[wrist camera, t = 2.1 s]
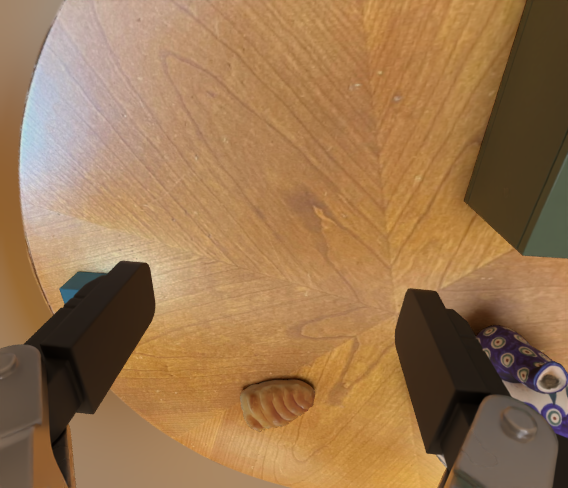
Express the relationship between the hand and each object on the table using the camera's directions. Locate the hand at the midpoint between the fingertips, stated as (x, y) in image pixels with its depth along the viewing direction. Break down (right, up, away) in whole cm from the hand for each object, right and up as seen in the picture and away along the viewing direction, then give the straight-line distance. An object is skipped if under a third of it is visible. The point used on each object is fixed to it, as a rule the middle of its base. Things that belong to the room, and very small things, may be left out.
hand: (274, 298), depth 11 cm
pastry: (-1, -18, +34) cm, 38 cm away
